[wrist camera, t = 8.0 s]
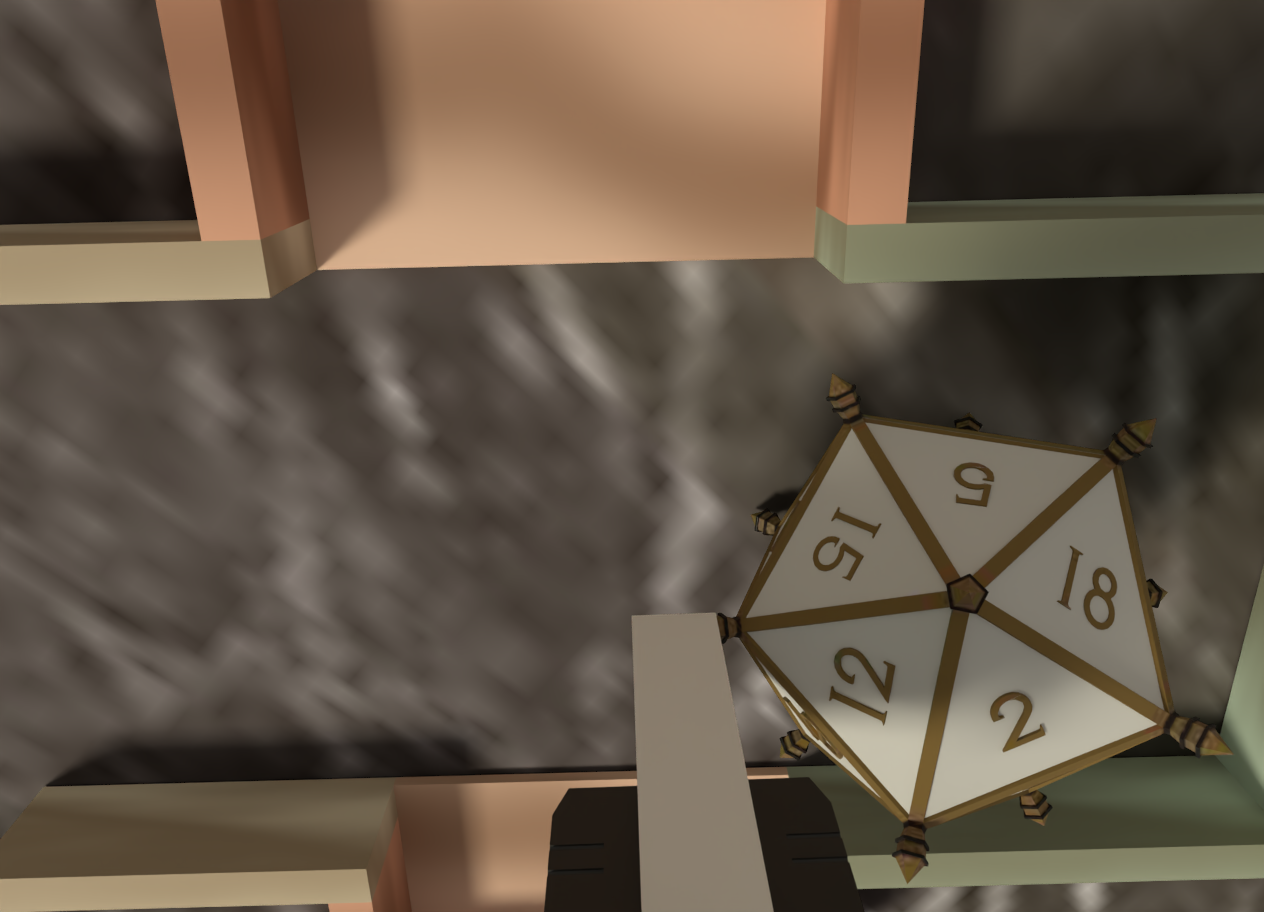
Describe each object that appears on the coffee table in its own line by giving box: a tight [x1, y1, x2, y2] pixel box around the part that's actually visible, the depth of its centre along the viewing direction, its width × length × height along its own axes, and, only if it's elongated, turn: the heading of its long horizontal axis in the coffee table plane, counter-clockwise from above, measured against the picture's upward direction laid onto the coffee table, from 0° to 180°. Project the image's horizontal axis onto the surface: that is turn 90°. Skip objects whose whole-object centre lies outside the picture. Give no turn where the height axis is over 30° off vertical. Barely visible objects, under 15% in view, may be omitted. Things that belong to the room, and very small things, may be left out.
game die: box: [716, 373, 1234, 884], centre depth 17 cm, size 9×8×10 cm
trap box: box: [0, 0, 1264, 912], centre depth 19 cm, size 25×31×6 cm
